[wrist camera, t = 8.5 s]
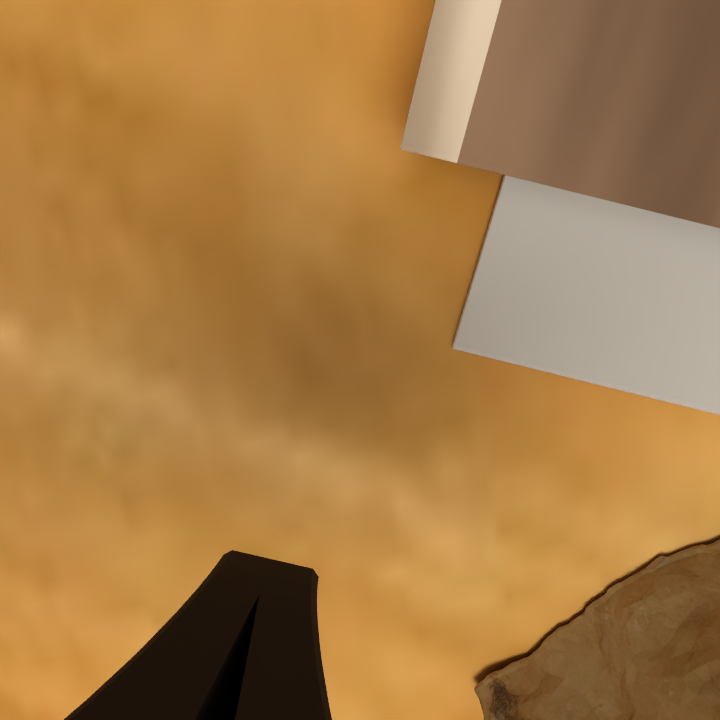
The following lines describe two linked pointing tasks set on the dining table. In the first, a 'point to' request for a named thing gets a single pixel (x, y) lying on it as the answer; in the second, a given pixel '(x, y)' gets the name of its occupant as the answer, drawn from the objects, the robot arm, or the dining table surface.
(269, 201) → the dining table surface
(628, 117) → the walnut block
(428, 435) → the dining table surface
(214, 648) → the robot arm
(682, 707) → the rock
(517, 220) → the board
